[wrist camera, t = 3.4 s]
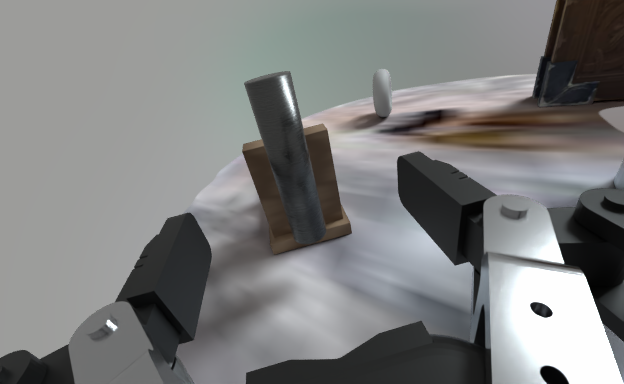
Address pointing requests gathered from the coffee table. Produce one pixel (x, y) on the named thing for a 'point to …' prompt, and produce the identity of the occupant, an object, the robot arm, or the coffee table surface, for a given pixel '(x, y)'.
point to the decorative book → (582, 54)
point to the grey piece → (287, 153)
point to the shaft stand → (325, 185)
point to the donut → (382, 93)
